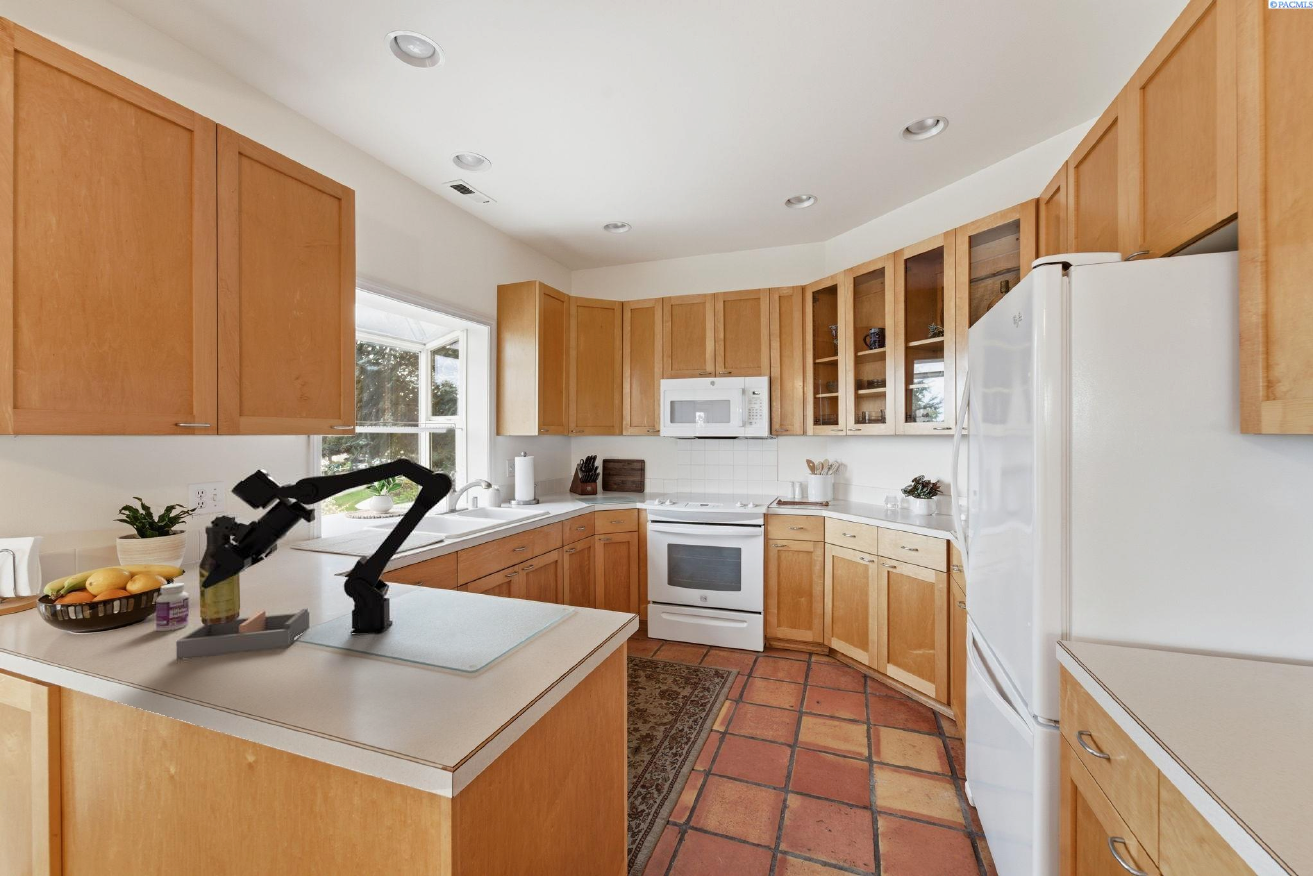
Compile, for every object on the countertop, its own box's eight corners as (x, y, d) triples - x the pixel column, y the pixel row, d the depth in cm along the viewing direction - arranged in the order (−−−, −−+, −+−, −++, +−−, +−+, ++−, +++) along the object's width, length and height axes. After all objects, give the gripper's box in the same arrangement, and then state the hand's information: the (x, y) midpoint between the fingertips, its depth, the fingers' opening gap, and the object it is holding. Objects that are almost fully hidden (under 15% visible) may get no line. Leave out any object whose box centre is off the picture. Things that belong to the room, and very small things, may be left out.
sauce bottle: (206, 619, 107) (204, 523, 107) (244, 614, 109) (242, 521, 109) (195, 629, 101) (193, 528, 101) (235, 624, 104) (233, 525, 104)
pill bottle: (173, 632, 114) (172, 588, 114) (149, 632, 114) (149, 588, 114) (195, 623, 119) (195, 581, 119) (172, 623, 119) (172, 581, 119)
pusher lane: (309, 627, 116) (309, 607, 116) (288, 647, 104) (288, 625, 104) (210, 637, 111) (210, 616, 111) (176, 659, 99) (176, 636, 99)
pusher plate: (265, 630, 112) (265, 610, 112) (245, 646, 103) (244, 625, 103) (260, 630, 112) (260, 611, 112) (239, 647, 103) (239, 625, 103)
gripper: (259, 494, 115) (199, 548, 111) (220, 504, 98) (147, 568, 94) (301, 527, 118) (244, 580, 114) (270, 541, 100) (202, 606, 97)
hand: (211, 583), depth 105 cm, fingers closed on sauce bottle, 6 cm apart
